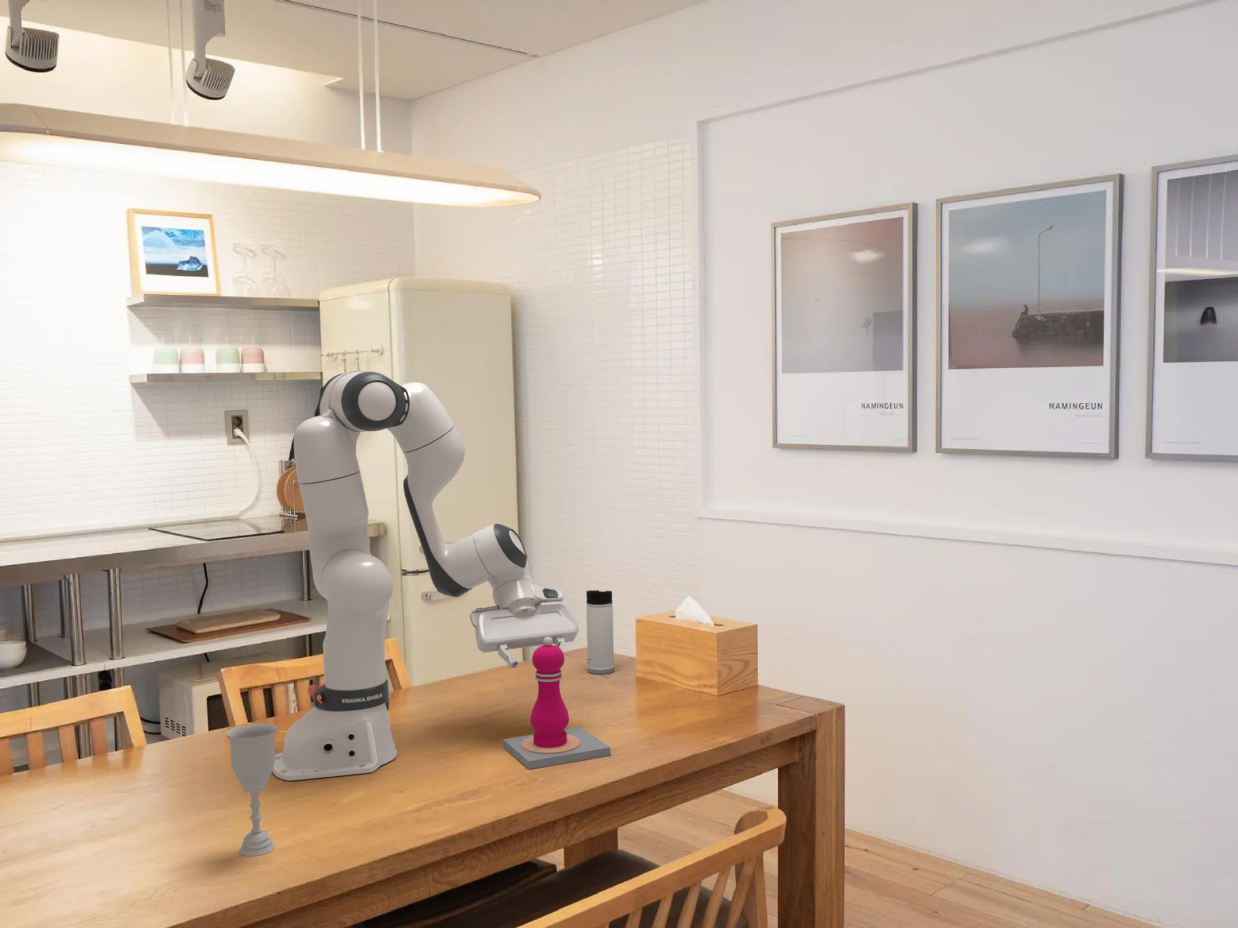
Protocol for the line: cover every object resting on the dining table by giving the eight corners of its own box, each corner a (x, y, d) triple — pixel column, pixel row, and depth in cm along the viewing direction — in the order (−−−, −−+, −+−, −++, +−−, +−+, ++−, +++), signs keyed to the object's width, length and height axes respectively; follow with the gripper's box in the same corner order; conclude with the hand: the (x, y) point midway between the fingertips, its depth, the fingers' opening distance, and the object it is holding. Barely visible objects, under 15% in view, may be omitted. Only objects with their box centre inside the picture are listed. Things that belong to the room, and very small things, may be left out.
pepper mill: (568, 748, 201) (565, 641, 200) (528, 748, 201) (526, 641, 200) (570, 736, 208) (568, 632, 207) (533, 736, 209) (530, 632, 207)
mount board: (529, 769, 196) (528, 759, 196) (503, 746, 208) (503, 737, 208) (610, 755, 203) (610, 745, 202) (580, 734, 215) (580, 725, 215)
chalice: (287, 838, 167) (283, 722, 166) (275, 857, 161) (270, 737, 159) (239, 840, 167) (234, 724, 166) (225, 859, 160) (219, 738, 159)
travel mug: (583, 674, 261) (582, 590, 259) (592, 667, 267) (590, 585, 266) (609, 675, 259) (607, 591, 257) (617, 668, 265) (615, 586, 264)
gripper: (470, 599, 212) (488, 660, 203) (569, 589, 220) (589, 647, 212) (464, 618, 216) (481, 678, 208) (561, 607, 224) (581, 665, 216)
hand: (536, 663), depth 210 cm, fingers open, 8 cm apart
